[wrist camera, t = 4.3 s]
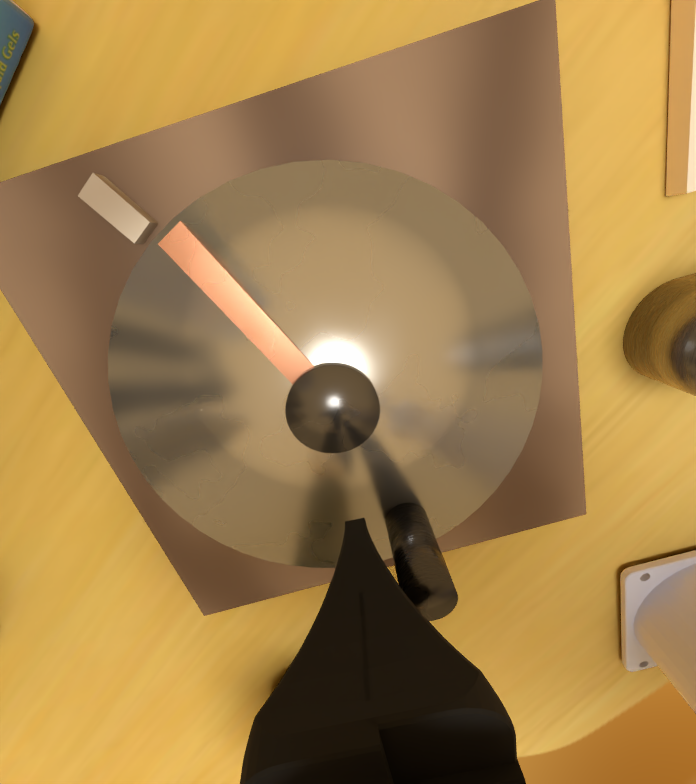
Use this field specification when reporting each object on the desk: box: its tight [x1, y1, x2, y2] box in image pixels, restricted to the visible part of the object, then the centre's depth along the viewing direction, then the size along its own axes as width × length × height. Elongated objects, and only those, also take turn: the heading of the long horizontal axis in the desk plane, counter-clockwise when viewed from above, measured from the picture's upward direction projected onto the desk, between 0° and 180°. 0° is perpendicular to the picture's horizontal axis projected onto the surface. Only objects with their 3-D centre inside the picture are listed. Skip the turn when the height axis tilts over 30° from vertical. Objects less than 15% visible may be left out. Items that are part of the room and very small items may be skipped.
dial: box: [108, 160, 542, 621], centre depth 11 cm, size 14×14×5 cm
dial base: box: [0, 0, 586, 616], centre depth 14 cm, size 18×18×2 cm
